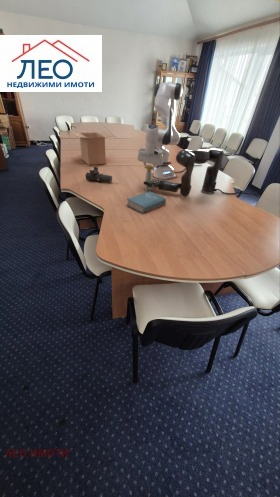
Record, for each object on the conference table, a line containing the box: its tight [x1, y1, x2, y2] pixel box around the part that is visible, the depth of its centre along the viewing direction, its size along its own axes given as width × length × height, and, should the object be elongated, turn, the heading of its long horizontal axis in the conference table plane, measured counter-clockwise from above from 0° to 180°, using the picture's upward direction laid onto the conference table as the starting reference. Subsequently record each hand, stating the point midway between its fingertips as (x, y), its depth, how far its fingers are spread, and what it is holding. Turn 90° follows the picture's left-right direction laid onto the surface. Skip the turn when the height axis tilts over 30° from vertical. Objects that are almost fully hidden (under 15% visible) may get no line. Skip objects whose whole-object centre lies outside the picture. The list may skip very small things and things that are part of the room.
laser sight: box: [85, 166, 113, 184], centre depth 187 cm, size 10×22×10 cm, turn 78°
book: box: [126, 190, 167, 214], centre depth 156 cm, size 23×16×5 cm
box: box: [70, 129, 114, 166], centre depth 229 cm, size 44×36×27 cm
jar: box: [144, 169, 152, 192], centre depth 176 cm, size 4×4×16 cm
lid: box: [145, 164, 153, 171], centre depth 170 cm, size 5×5×2 cm
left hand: (149, 168), depth 171 cm, fingers closed on lid, 5 cm apart
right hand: (144, 181), depth 178 cm, fingers closed on jar, 4 cm apart
